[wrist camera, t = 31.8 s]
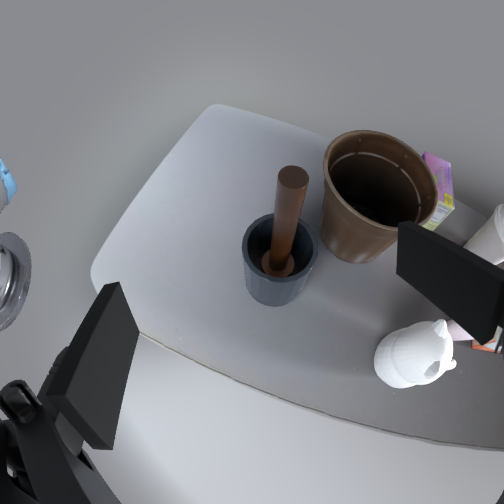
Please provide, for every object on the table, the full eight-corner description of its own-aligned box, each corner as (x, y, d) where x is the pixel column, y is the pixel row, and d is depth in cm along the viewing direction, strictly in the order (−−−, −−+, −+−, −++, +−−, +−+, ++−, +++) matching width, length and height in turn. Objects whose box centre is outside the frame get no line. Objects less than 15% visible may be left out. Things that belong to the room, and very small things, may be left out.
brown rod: (264, 294, 43) (273, 205, 21) (257, 267, 44) (259, 160, 22) (293, 287, 43) (329, 195, 21) (285, 261, 45) (310, 153, 23)
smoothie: (444, 354, 38) (498, 341, 26) (432, 321, 41) (484, 298, 28) (467, 339, 39) (520, 321, 26) (456, 307, 42) (507, 282, 29)
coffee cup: (450, 262, 45) (497, 225, 31) (461, 228, 48) (502, 188, 34) (481, 290, 42) (531, 261, 29) (490, 254, 45) (534, 221, 32)
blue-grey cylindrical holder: (252, 312, 42) (251, 290, 31) (240, 258, 46) (235, 220, 35) (309, 299, 43) (327, 272, 32) (294, 247, 47) (305, 207, 36)
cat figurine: (370, 325, 41) (418, 301, 27) (433, 340, 40) (492, 321, 26) (357, 382, 38) (405, 383, 24) (424, 392, 36) (483, 391, 22)
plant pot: (316, 284, 44) (345, 237, 29) (296, 196, 50) (309, 129, 36) (404, 268, 45) (456, 223, 30) (377, 190, 51) (409, 131, 36)
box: (400, 188, 51) (425, 150, 41) (424, 198, 51) (451, 163, 40) (396, 231, 48) (426, 195, 37) (422, 242, 47) (455, 209, 36)
